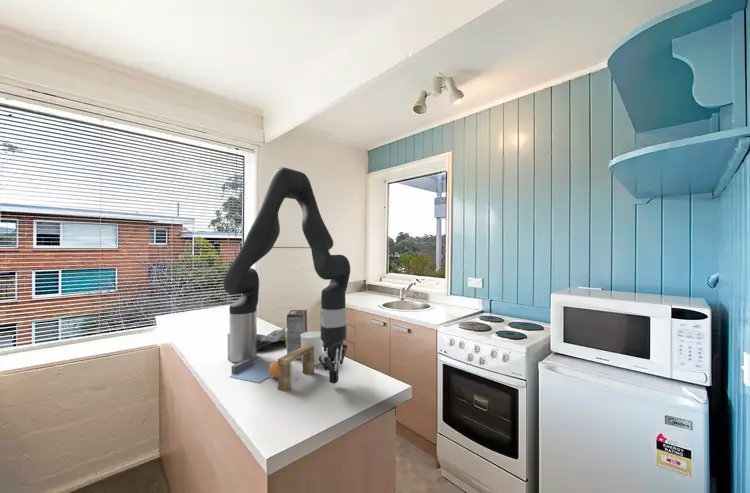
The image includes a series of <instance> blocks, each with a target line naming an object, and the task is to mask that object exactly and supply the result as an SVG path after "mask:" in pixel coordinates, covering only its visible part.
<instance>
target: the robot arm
mask: <svg viewBox="0 0 750 493" xmlns="http://www.w3.org/2000/svg"><path fill="white" fill-rule="evenodd" d="M266 189H267V190H266V193H265V195H264V198H263V202H262V204H261V206H260V209H259V211H258V213H257V215H256V217H255V219H254V220H253V222H252V225H251V227H250V229H249V231H248V232H247V235H246V237H245V240H244V242H243V244H242V246H241V248H240V250H238V251H239V252H238V254H237V255H236V257H235V258H234V260H233V261H232V263H231V265H230V266H229V268H228V270H227V271H226V274H225V275H224V278H223V289H224V291H225V292H226V294H228V295H240V297H239V298H238V299H237V300H236V301H235V302H232V303H231V304H230V305H229V332H227V360H229V361H230V362H231V363H240V362H242V361H244V360H247V359H249V358H254V360H255V359H256V358H257V355H258V350H257V334H258V333H257V332H258V331H257V329H258V327H257V322H258V320H257V313H258V312H257V307H258V305H259V304H258V303H259V294H260V293H259V291H260V278H259V274H258V272H257V270H256V269H255V268H253V266H254V265H255V264H256V263H258V262H259V261H260V260H261V259H262V258H264V257H265V256H266V255H268V253H270V251H271V250H272V249H273V247H274V246H275V243H276V241H277V240H278V237H279V235H280V232H281V231H280V230H281V225H280V221H279V210H280V209H281V206H282V204H283V202H284V200H285V199H291V200H295V201H296V202H297V204H298V205H299V206H300V208H301V210H302V221H301V228H302V232H303V235H304V238H305V240H306V241H307V243H308V245H309V247H310V249H311V255H312V262H313V268H314V270H315V273H316V274H317V275H318V277H319V278H320V279H323V280H325V281H327V280H328V281H330V282H329V284H328V285H327V286H326V287H325V288H324V287H323V289H322V290H321V293H320V294H321V296H320V301H321V306H320V308H321V310H320V332H321V340H322V341H323V343H324V344H323V353H322V356H320V357H319V361H320V364H321V366H322V368H323V370H324V371H328V374H329V375H328V376H329V383H330V384H337V383H338V382H339V370H340V368H341V365H343V363H344V359H345V357H346V352H347V349H348V345H347V344H345V343H344V341H345V340H346V339H347V336H348V335H347V310H346V292H347V289H348V284H349V279H350V277H351V264H350V260H349V259H348V258H347V257H346V255H344V254H343V255H342V254H331V253H330V250H331V249H332V248H333V247H334V241H333V240H334V239H333V238H332V236H331V234H330V232H329V230H328V227H327V226H326V223H325V222H324V219H323V218H322V215H321V213H320V210H319V206H318V204H317V200H316V197H315V194H314V191H313V188H312V184H311V181H310V179H309V178H308V176H307V174H306V173H304V172H303V171H298V170H296V169H292V168H289V167H284V166H282V167H279V168H277V169H276V170H275V172H273V175H272V176H271V178H270V181H269V184H268V186H267V188H266Z"/></svg>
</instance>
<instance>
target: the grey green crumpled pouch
mask: <svg viewBox="0 0 750 493" xmlns="http://www.w3.org/2000/svg"><path fill="white" fill-rule="evenodd" d="M286 328H287V326H286V327H283V329H277V330H273V331H271V332H270V333H269V334H267V335H266V334H258V333H257V351H258V350H259V349H261V348H263V347H265V346H267V345H270V344H272V343H276V342H277V343H279V342H282V340H285V330H286Z"/></svg>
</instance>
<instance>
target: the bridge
mask: <svg viewBox="0 0 750 493" xmlns="http://www.w3.org/2000/svg"><path fill="white" fill-rule="evenodd" d="M301 356H303V362H302V374H306V375H312V374H313V373H315V365H314V346H313V345H304V346H302V347H301V348H299V349H297V350H295V351H293V352H291V353H289V354H287V353H286V354H285V355H283V356H281V357H279V358H278V359H277V361H278V378H277V390H280V391H283V392H284V391H285V392H288V391H289V390H290V389H292V373H291V372H292V369H291V368H292V366H291V365H292V362H294V361H296V360H298V359H300V358H299V357H301Z"/></svg>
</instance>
